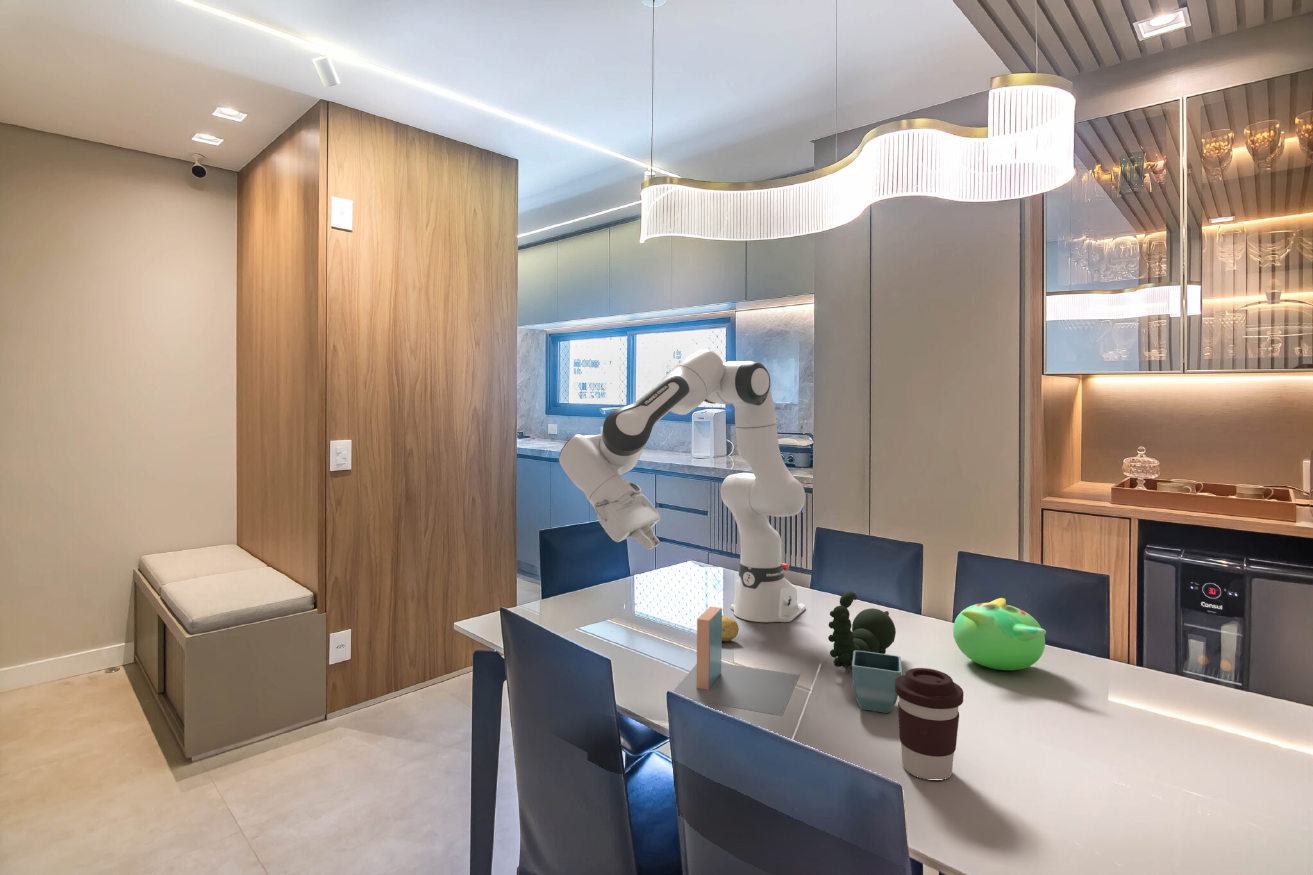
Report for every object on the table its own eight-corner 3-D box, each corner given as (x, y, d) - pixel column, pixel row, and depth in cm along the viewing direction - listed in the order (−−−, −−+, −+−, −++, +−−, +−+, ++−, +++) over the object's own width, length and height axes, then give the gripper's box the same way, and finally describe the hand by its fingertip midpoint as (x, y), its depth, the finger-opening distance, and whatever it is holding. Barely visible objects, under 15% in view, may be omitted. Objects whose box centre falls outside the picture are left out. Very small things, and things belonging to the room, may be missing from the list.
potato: (726, 649, 154) (726, 623, 154) (691, 637, 162) (691, 612, 162) (743, 642, 159) (743, 616, 159) (708, 631, 167) (709, 607, 166)
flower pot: (899, 700, 127) (900, 655, 127) (900, 720, 119) (902, 672, 119) (852, 693, 130) (853, 649, 130) (850, 712, 122) (851, 665, 121)
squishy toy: (1039, 661, 148) (1041, 597, 147) (1049, 689, 133) (1051, 618, 132) (952, 648, 156) (954, 587, 155) (952, 673, 140) (953, 606, 140)
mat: (669, 698, 127) (669, 695, 127) (700, 662, 146) (700, 659, 146) (781, 718, 119) (781, 715, 119) (799, 677, 138) (799, 674, 138)
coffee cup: (882, 754, 107) (884, 664, 106) (940, 751, 108) (942, 662, 107) (911, 788, 97) (913, 690, 97) (974, 786, 98) (977, 688, 97)
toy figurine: (859, 692, 135) (908, 650, 153) (857, 604, 133) (906, 571, 151) (818, 679, 141) (869, 640, 159) (815, 595, 139) (868, 565, 157)
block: (696, 687, 131) (697, 618, 130) (709, 671, 139) (710, 606, 139) (709, 689, 130) (709, 620, 129) (721, 673, 138) (722, 607, 138)
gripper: (601, 494, 131) (645, 546, 128) (640, 483, 150) (680, 529, 147) (581, 514, 133) (624, 566, 129) (622, 502, 152) (661, 547, 148)
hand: (654, 546), depth 138 cm, fingers closed
